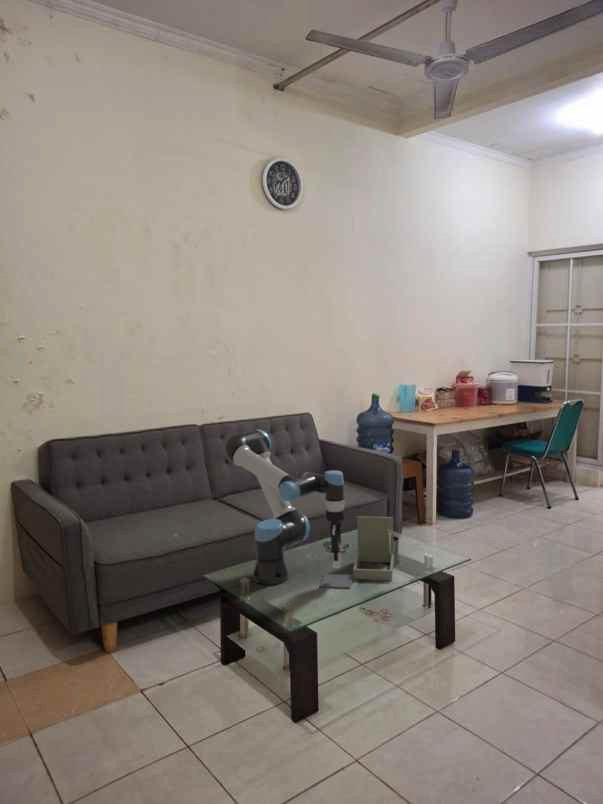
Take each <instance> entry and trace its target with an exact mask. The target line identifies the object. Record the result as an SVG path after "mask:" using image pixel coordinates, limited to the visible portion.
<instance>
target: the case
mask: <svg viewBox="0 0 603 804" xmlns="http://www.w3.org/2000/svg"><path fill="white" fill-rule="evenodd" d="M356 524H357V527H356V531H357V555H356V557H355V558H356V559H355V561H354V565H353V569H352V570H353V571H352V573H353V574H352V575H353V580H373V581H393V576H394V574H393V572H394V565H395V564H394V563H395V555H394V554H395V552H394V551H395V550H394V549H395V545H394V544H395V543H394V540H395V539H394V516H363V515H362V516H361V515H359V516H358V515H357V516H356ZM361 562H362V563H363V562H366V563H367V562H368V563H389V565H390V566H389V569H371V568H370V569H368V568H359V567H360V563H361Z"/></svg>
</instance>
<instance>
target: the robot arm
mask: <svg viewBox="0 0 603 804" xmlns="http://www.w3.org/2000/svg"><path fill="white" fill-rule="evenodd" d="M271 449H272V440H271V437H270V436H269V435H268V433H267V432H266V431H264V430H262V429H251V430H250V429H249V430H246V431H241V432H236V433H232V434H230V435H229V436H228V437H227V438H226V439H225V441H224V443H223V453H224V455H225V457H226V458H227V460H228V461H229V462H230V463H232V464H233V465H235V466H236V467H240V466H241V467H243V468H244V469H245V470H247V471H248V472H250V473H252V474H253V475H255V476H256V479H257V480H258V482H259V485H260V487H261V489H262V491H263V494H264V496H265V498H266V500H267V502H268V504H269V507H270V509H271V512H272V513H273V518H270V519H264V520H262V521H259V523H257V524H256V525H255V528H254V543H255V564H254V567H253V571H252V579H253V578H254V579H255V581H257V582H258V583H257V584H259V583H261V584H260V585H266V586H267V585H268V586H271V585H272V586H273V585H280V584H282V583H284V582H286V581H288V580H289V578H290V572H289V571H290V570H289V567H288V566H287V562H286V561H285V549H287V548H289V547H291V546H294V545H296V544H297V545H298V544H300V543H302V542H303V541H305V540H307V538H308V537H309V534H310V531H311V529H310V527H311V525H310V522H309V520H308V518H307V516H306V515H304V514H303V513H299V511H298V508H297V507H294V506H292V504H291V502H290V501H294V500H297V499H300V498H302V497H306V496H308V495H312V494H315V493H319V494H324V500H325V501H324V502H325V510H326V511H325V519H326V521H328V522H329V521H330V522H331V523H330V525H329V527H330V531H329V533H330V541H331V546H330V548H332V551H331V553H330V554H332V568H333V569H340V568H341V565H342V553H339V542H340V545H341V546H342V529H341V528H342V521H344V520H345V518H346V515H345V513H346V511H345V505H346V503H347V502H346V501H345V481H344V480H345V479H344V474H343V472H342V471H340V470H332V469H331V470H327V471H324V474H320V473H315V472H304V473H303V474H302V475H301V476H300V477H298V478H296V477H294V476H292V475H290V474H289V473H287V472H285V470H282V469H280V468H279V467H278V466H276V465H274V464H273V463H272V461H271V459H270V458H271V455H272V453H271ZM340 550H342V549H340ZM255 581H254V582H255Z"/></svg>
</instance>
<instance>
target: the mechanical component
mask: <svg viewBox="0 0 603 804" xmlns="http://www.w3.org/2000/svg"><path fill="white" fill-rule="evenodd" d="M322 544H323V546H322V547H324V548H325V552H327V554H329V553H330V554H332V553H331V551H332V547H331V540H330V541H325V542H323V543H322ZM349 548H350V543H348V542H345V543H344V545H342V544H341V545H340V542H339V553H341V554H345V553H347V551H348V549H349ZM340 549H341V550H340Z"/></svg>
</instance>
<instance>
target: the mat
mask: <svg viewBox="0 0 603 804" xmlns="http://www.w3.org/2000/svg"><path fill="white" fill-rule="evenodd" d="M353 580H354V579H353V574H342V573H341V574H339V573H338V574H335V573H324V575H323V577H322V580H321V583H320V585H319V587H320V588H329V589H346V588H350V587H352V584H353V582H354V581H353ZM341 587H343V588H341ZM350 589H351V588H350Z"/></svg>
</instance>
